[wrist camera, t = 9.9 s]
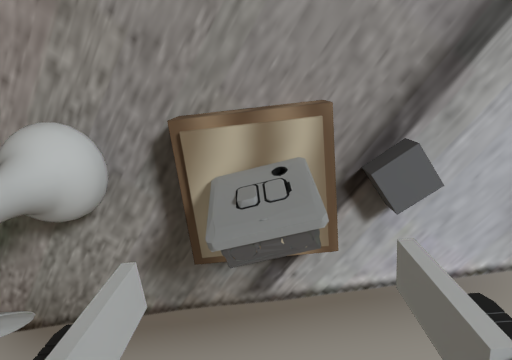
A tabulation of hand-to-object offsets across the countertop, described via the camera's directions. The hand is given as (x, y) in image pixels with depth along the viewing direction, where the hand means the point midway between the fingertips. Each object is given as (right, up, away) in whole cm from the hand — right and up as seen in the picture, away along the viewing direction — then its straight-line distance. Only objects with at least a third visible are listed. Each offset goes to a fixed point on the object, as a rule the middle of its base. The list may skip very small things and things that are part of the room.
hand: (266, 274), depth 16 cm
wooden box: (0, +5, +17) cm, 17 cm away
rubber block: (+14, +6, +17) cm, 22 cm away
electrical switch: (0, +4, +12) cm, 13 cm away
